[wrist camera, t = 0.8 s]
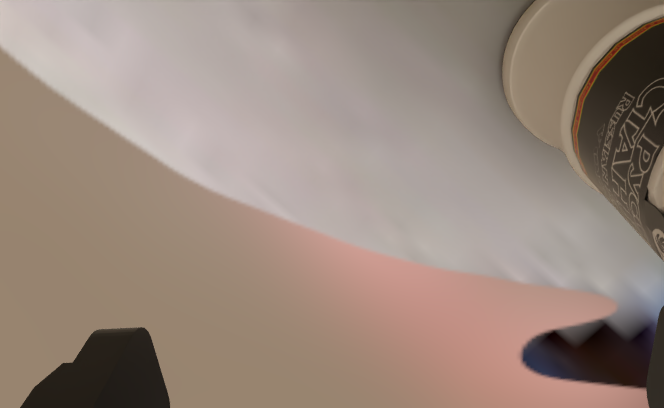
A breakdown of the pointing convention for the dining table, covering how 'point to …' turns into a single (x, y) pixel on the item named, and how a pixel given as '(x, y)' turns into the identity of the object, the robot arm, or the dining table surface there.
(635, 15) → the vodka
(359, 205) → the dining table surface
